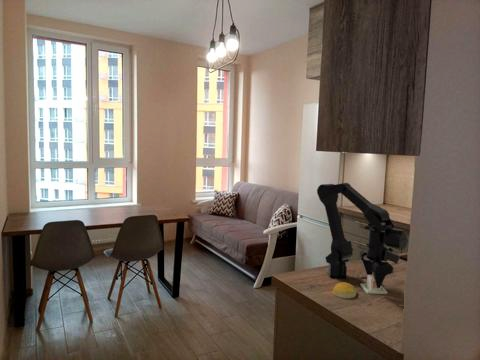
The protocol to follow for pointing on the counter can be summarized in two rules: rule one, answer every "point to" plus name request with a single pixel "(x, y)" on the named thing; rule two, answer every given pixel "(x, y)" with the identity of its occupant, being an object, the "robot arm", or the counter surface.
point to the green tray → (373, 291)
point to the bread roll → (344, 290)
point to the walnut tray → (364, 279)
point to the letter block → (372, 283)
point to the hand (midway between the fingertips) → (373, 282)
